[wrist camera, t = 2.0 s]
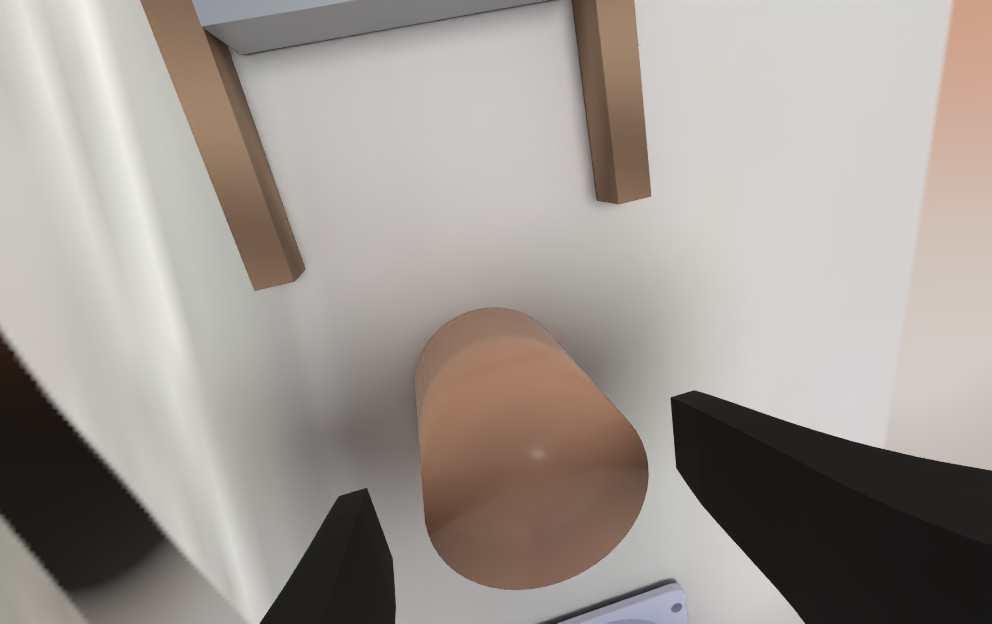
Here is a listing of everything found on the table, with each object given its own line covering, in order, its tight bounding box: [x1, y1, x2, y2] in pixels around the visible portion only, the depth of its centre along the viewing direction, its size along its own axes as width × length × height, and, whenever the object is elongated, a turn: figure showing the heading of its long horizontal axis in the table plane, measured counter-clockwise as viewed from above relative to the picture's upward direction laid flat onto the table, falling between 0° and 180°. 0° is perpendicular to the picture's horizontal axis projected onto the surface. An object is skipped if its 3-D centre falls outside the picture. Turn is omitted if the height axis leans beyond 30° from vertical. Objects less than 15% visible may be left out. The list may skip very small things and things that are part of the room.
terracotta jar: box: [415, 308, 648, 590], centre depth 13 cm, size 5×5×6 cm
